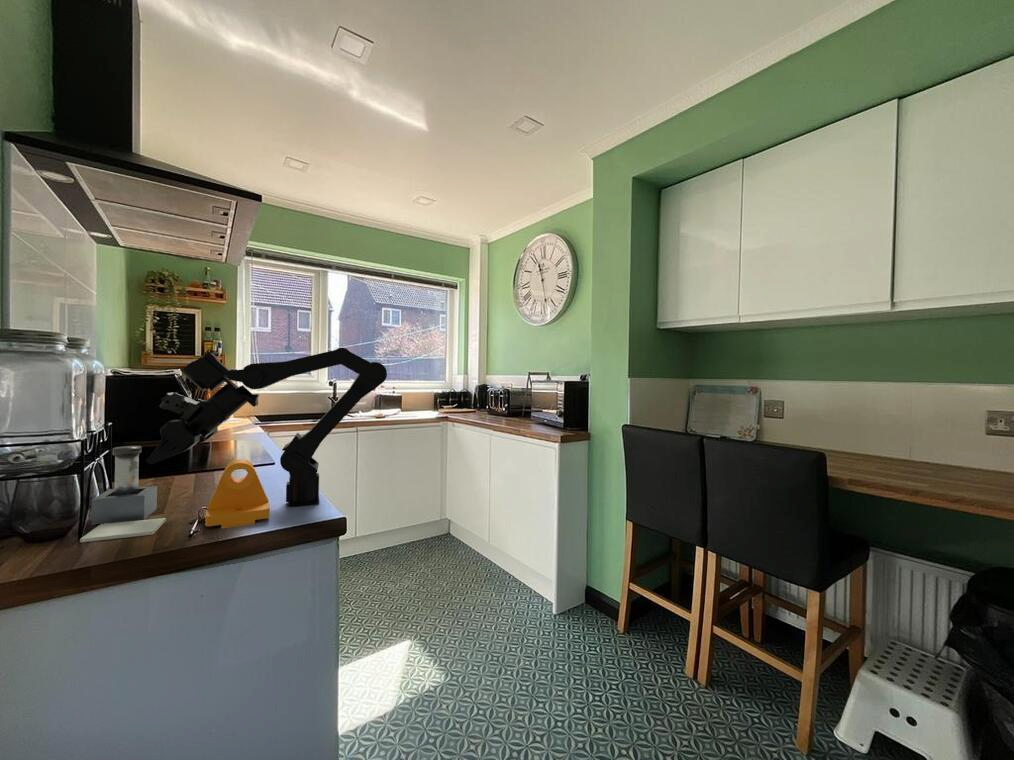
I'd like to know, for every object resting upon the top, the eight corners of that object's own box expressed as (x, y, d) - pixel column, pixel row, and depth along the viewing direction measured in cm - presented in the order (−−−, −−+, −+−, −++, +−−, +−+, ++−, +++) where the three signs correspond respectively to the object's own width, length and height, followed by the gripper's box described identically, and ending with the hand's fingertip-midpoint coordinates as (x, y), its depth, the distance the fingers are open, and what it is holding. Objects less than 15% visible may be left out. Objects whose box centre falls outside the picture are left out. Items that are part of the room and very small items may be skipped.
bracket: (204, 531, 80) (205, 468, 80) (207, 519, 86) (208, 461, 86) (269, 521, 85) (270, 463, 85) (267, 511, 92) (268, 456, 92)
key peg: (143, 502, 89) (144, 445, 89) (136, 508, 85) (137, 448, 85) (116, 505, 87) (117, 446, 87) (107, 511, 84) (108, 449, 83)
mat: (165, 520, 85) (166, 517, 85) (153, 534, 77) (153, 531, 77) (100, 527, 80) (100, 524, 80) (80, 542, 73) (80, 539, 73)
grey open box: (156, 508, 92) (157, 485, 92) (144, 520, 85) (144, 495, 85) (108, 513, 88) (109, 489, 88) (91, 525, 81) (91, 499, 81)
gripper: (202, 379, 99) (142, 427, 95) (174, 380, 82) (99, 438, 77) (240, 412, 102) (184, 460, 98) (221, 420, 85) (151, 478, 80)
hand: (157, 458), depth 88 cm, fingers open, 9 cm apart
